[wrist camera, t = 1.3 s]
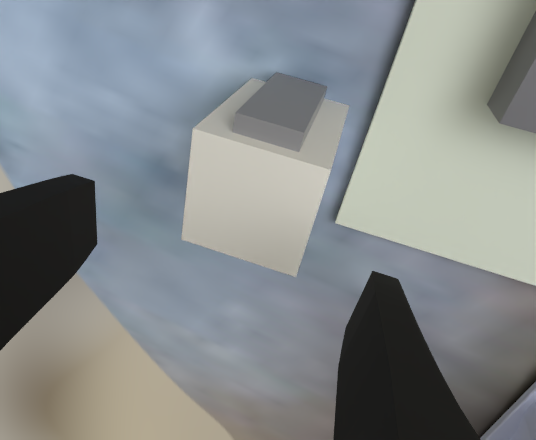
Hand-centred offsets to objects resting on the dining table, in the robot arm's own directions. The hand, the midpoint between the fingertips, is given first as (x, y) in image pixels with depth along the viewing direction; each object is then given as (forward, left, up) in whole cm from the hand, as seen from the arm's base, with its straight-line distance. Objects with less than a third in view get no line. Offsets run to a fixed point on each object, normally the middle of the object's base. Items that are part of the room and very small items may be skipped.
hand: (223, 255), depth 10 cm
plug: (0, 0, -8) cm, 9 cm away
